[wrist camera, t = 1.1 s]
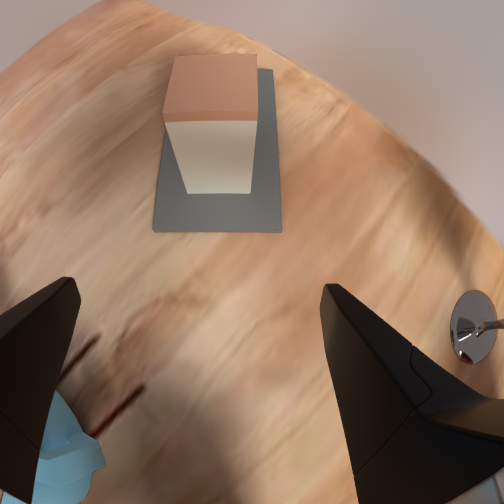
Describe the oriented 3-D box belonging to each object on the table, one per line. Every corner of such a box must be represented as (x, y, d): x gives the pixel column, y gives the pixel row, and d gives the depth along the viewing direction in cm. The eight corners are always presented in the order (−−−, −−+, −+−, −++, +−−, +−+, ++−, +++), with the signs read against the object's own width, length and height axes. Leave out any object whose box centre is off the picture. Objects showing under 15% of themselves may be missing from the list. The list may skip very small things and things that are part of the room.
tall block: (250, 193, 24) (258, 111, 15) (187, 193, 24) (161, 113, 14) (250, 142, 26) (256, 54, 16) (192, 142, 25) (175, 56, 16)
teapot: (80, 530, 16) (31, 582, 6) (-25, 434, 17) (-91, 449, 7) (134, 431, 20) (71, 486, 9) (8, 325, 21) (-76, 312, 11)
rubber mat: (281, 232, 24) (282, 230, 24) (154, 232, 24) (152, 229, 23) (272, 73, 29) (272, 69, 28) (178, 74, 28) (177, 70, 28)
